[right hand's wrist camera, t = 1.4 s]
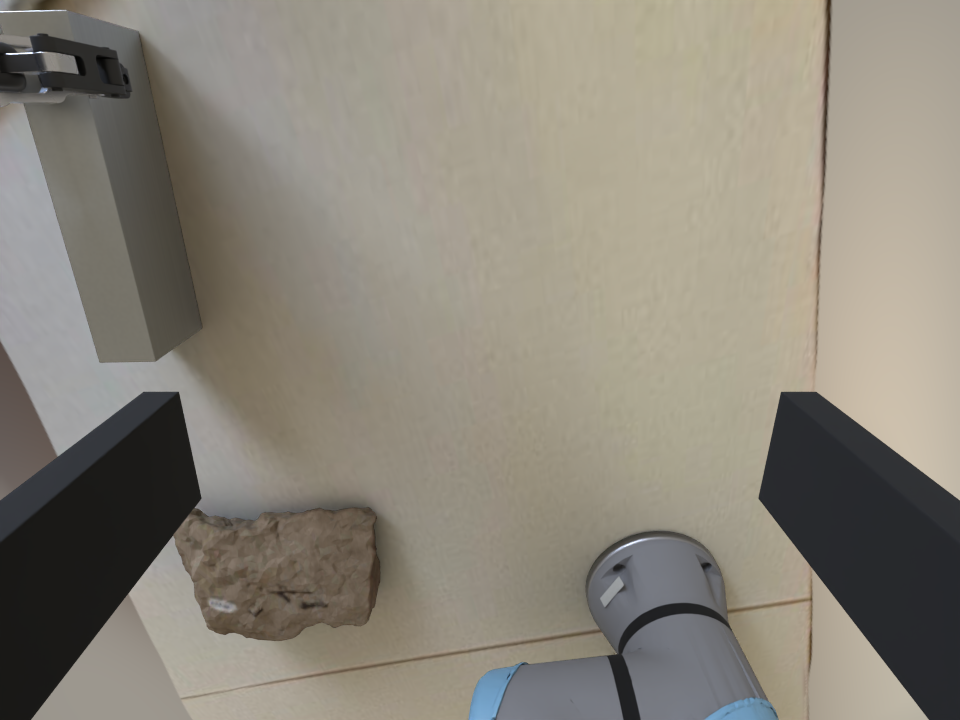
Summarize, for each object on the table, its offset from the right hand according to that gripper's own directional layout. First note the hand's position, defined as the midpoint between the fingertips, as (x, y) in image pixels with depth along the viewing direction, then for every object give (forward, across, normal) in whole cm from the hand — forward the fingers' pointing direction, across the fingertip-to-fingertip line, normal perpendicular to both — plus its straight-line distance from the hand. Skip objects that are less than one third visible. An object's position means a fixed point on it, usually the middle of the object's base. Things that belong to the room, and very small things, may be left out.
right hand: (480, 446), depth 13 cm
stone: (+41, +21, +37) cm, 59 cm away
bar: (+40, +29, -2) cm, 50 cm away
